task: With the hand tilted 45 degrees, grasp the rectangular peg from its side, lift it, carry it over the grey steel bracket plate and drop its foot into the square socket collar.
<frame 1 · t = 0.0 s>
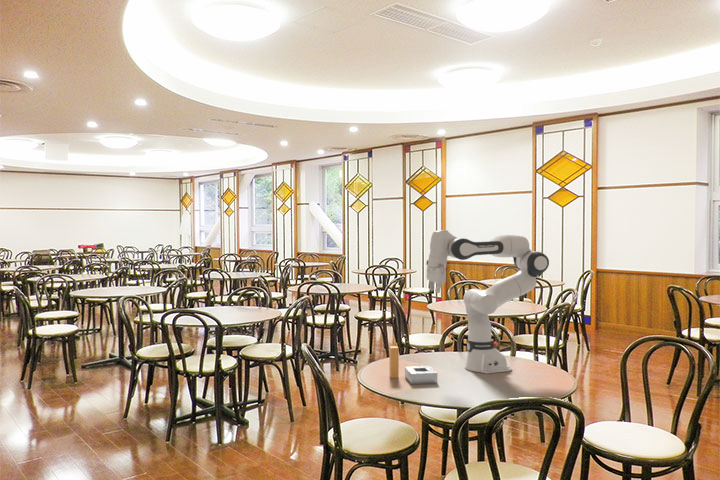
hand: (434, 291, 256), 39 cm above the table, tool pointing down, fingers open, 8 cm apart
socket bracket: (420, 380, 240), on the table
rectangular peg: (394, 376, 246), on the table
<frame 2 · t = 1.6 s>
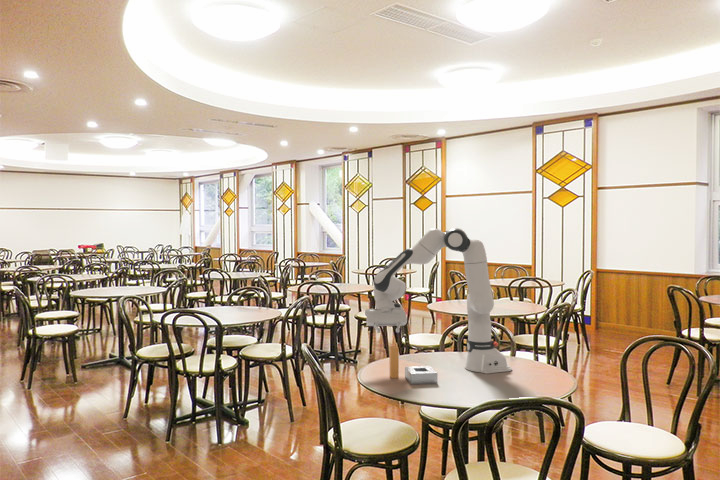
hand: (388, 332, 257), 19 cm above the table, tool tilted 45°, fingers open, 8 cm apart
nothing on the table moved.
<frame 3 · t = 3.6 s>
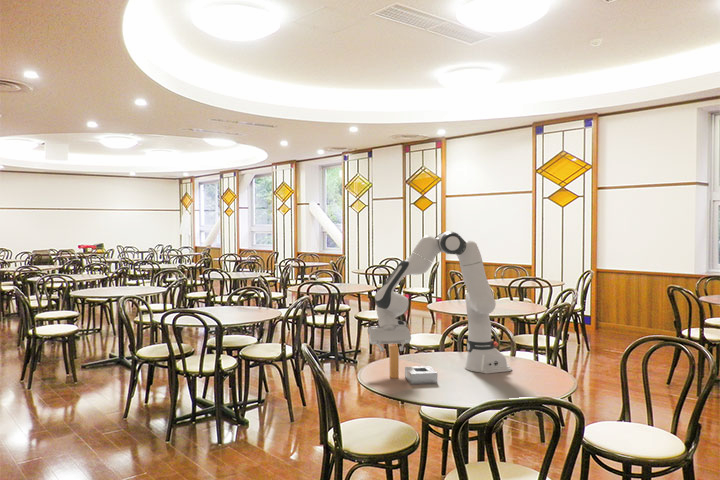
hand: (392, 350, 249), 11 cm above the table, tool tilted 45°, fingers open, 8 cm apart
nothing on the table moved.
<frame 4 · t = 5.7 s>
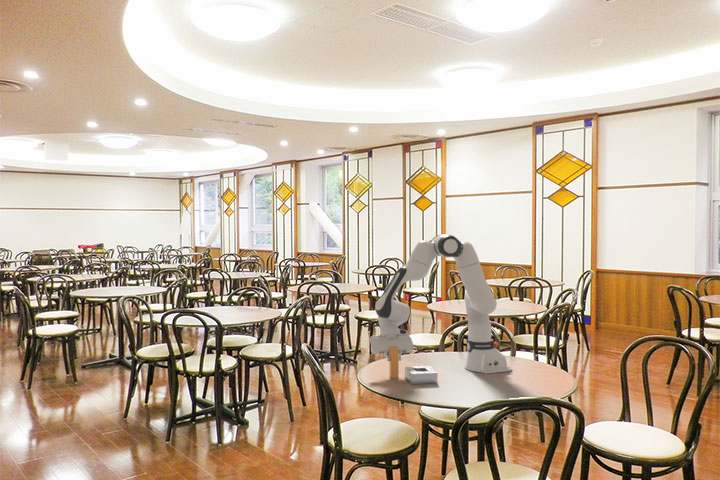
hand: (394, 360, 245), 8 cm above the table, tool tilted 45°, fingers closed on rectangular peg, 3 cm apart
rectangular peg: (394, 376, 246), on the table, touching gripper
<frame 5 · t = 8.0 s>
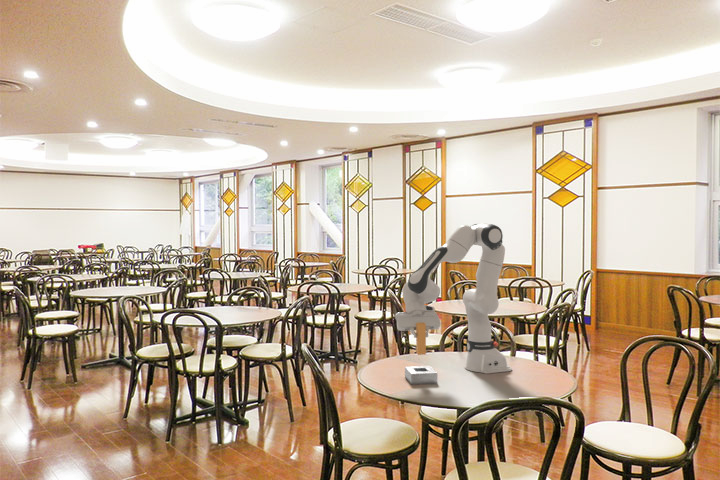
hand: (421, 336, 239), 20 cm above the table, tool tilted 45°, fingers closed on rectangular peg, 3 cm apart
rectangular peg: (421, 353, 240), point 12 cm above the table, touching gripper
when the fingers open (10 cm above the table, at t = 10.7 s): rectangular peg drops 2 cm, resting on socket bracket.
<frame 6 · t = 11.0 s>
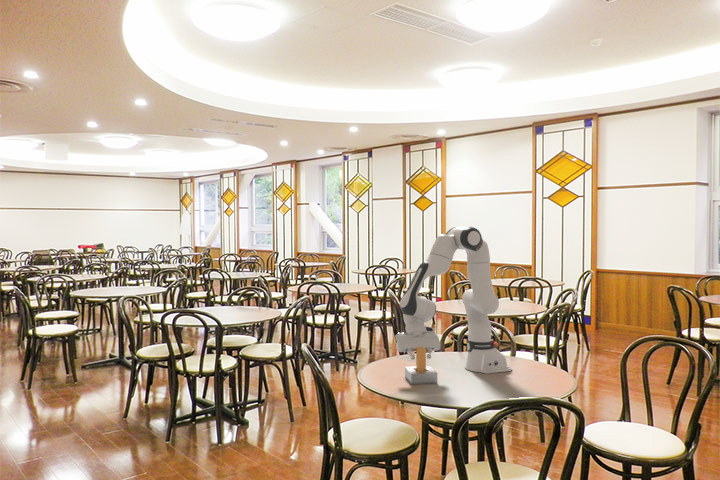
hand: (421, 358, 240), 10 cm above the table, tool tilted 45°, fingers open, 6 cm apart
rectangular peg: (420, 378, 240), point 1 cm above the table, touching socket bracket
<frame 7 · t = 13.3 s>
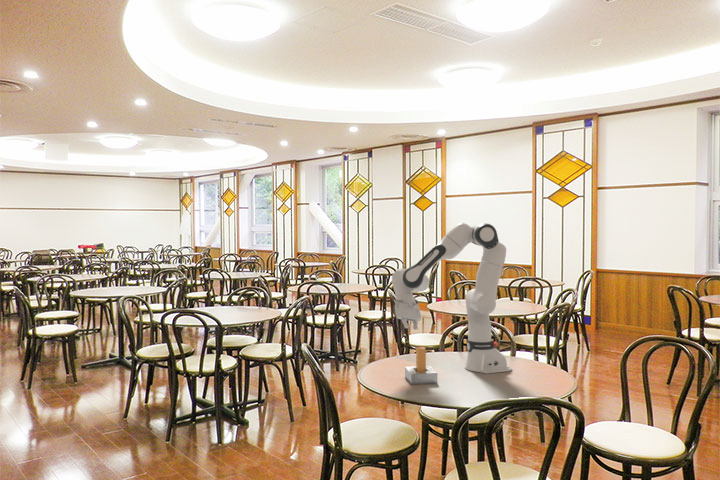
hand: (411, 328, 256), 20 cm above the table, tool tilted 25°, fingers open, 8 cm apart
nothing on the table moved.
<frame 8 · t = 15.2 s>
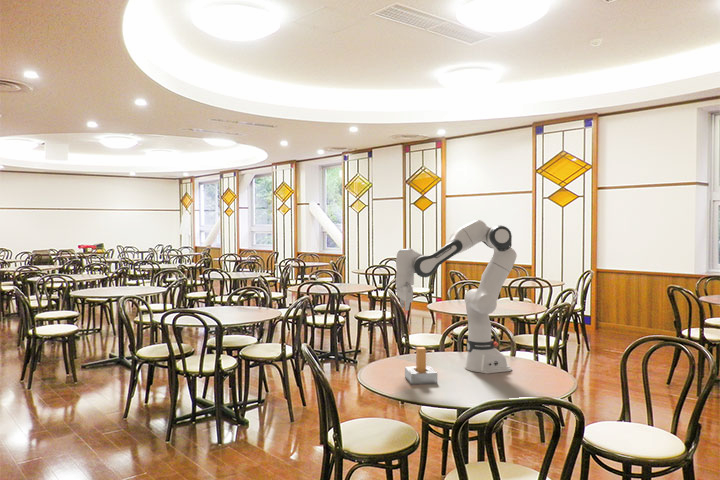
hand: (404, 308, 262), 29 cm above the table, tool pointing down, fingers open, 8 cm apart
nothing on the table moved.
at the end: rectangular peg 0.1 cm off-centre on the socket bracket, point 0.8 cm above the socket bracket's base; rectangular peg tilted 0°; the gripper is holding nothing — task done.
